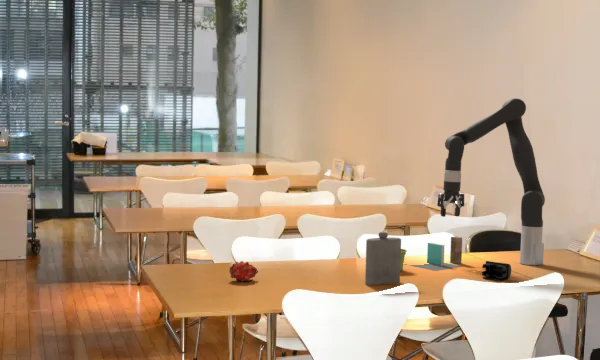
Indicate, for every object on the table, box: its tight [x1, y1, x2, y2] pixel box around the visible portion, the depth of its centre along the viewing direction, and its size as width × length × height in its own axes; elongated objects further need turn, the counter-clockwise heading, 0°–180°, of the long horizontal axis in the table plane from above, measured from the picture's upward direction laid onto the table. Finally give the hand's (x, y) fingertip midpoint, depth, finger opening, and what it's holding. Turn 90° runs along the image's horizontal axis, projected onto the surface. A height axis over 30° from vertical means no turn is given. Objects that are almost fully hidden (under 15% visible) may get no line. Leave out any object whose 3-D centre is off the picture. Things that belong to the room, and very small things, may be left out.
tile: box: [426, 242, 445, 266], centre depth 368 cm, size 8×2×9 cm, turn 38°
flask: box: [364, 231, 402, 287], centre depth 325 cm, size 15×6×20 cm, turn 116°
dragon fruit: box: [228, 260, 259, 282], centre depth 325 cm, size 8×8×12 cm
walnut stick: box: [449, 236, 463, 265], centre depth 372 cm, size 4×4×12 cm
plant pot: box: [400, 248, 407, 272], centre depth 354 cm, size 9×9×9 cm
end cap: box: [481, 260, 512, 282], centre depth 340 cm, size 10×7×7 cm
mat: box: [404, 262, 463, 272], centre depth 366 cm, size 22×18×1 cm
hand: (450, 216), depth 376 cm, fingers open, 8 cm apart
